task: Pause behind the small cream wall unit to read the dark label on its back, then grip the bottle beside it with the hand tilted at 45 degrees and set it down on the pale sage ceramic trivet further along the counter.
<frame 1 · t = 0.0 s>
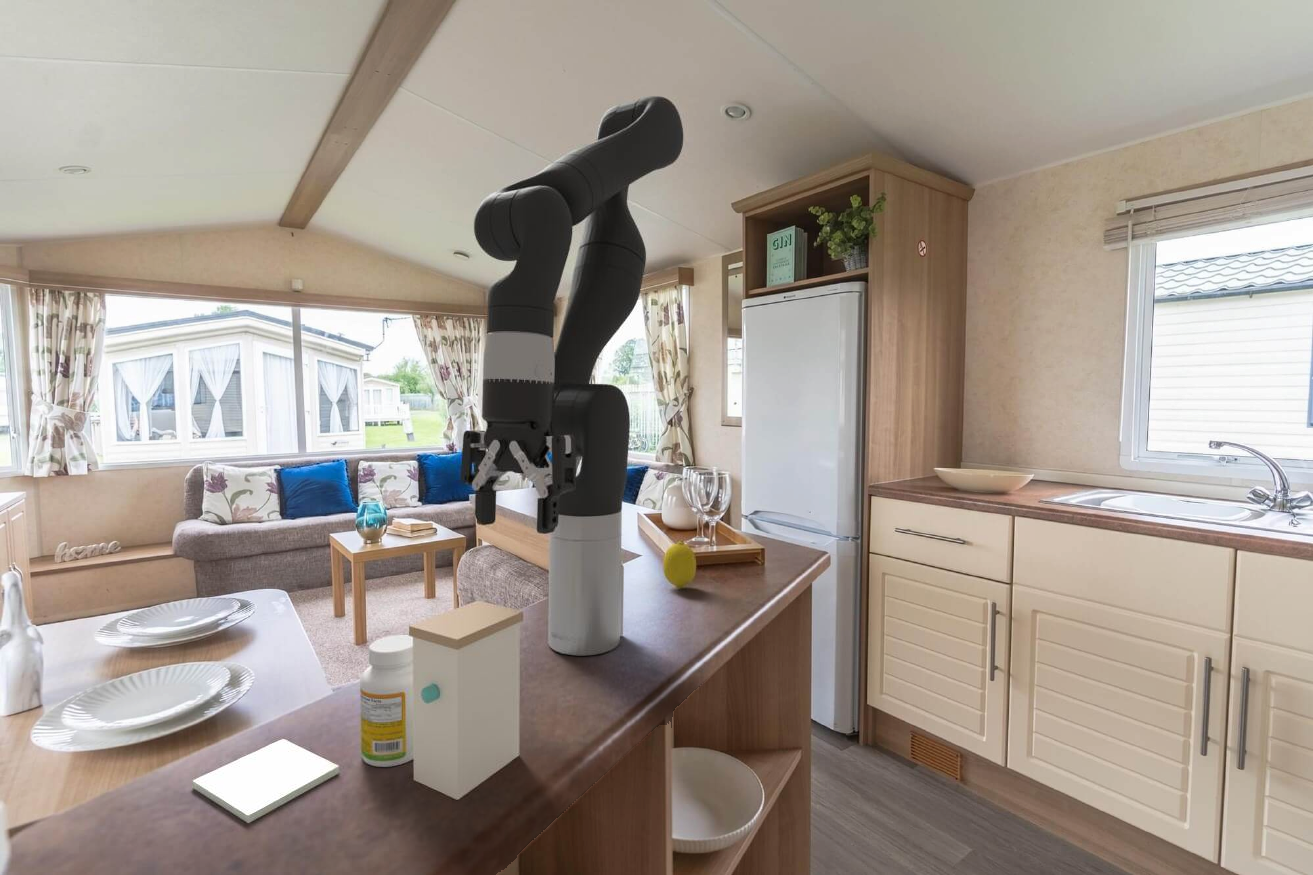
hand: (514, 528, 66), 17 cm above the counter, tool pointing down, fingers open, 8 cm apart
wall unit: (468, 767, 51), on the counter
trivet: (267, 780, 49), on the counter
lemon: (679, 589, 102), on the counter
supplement bottle: (394, 753, 54), on the counter
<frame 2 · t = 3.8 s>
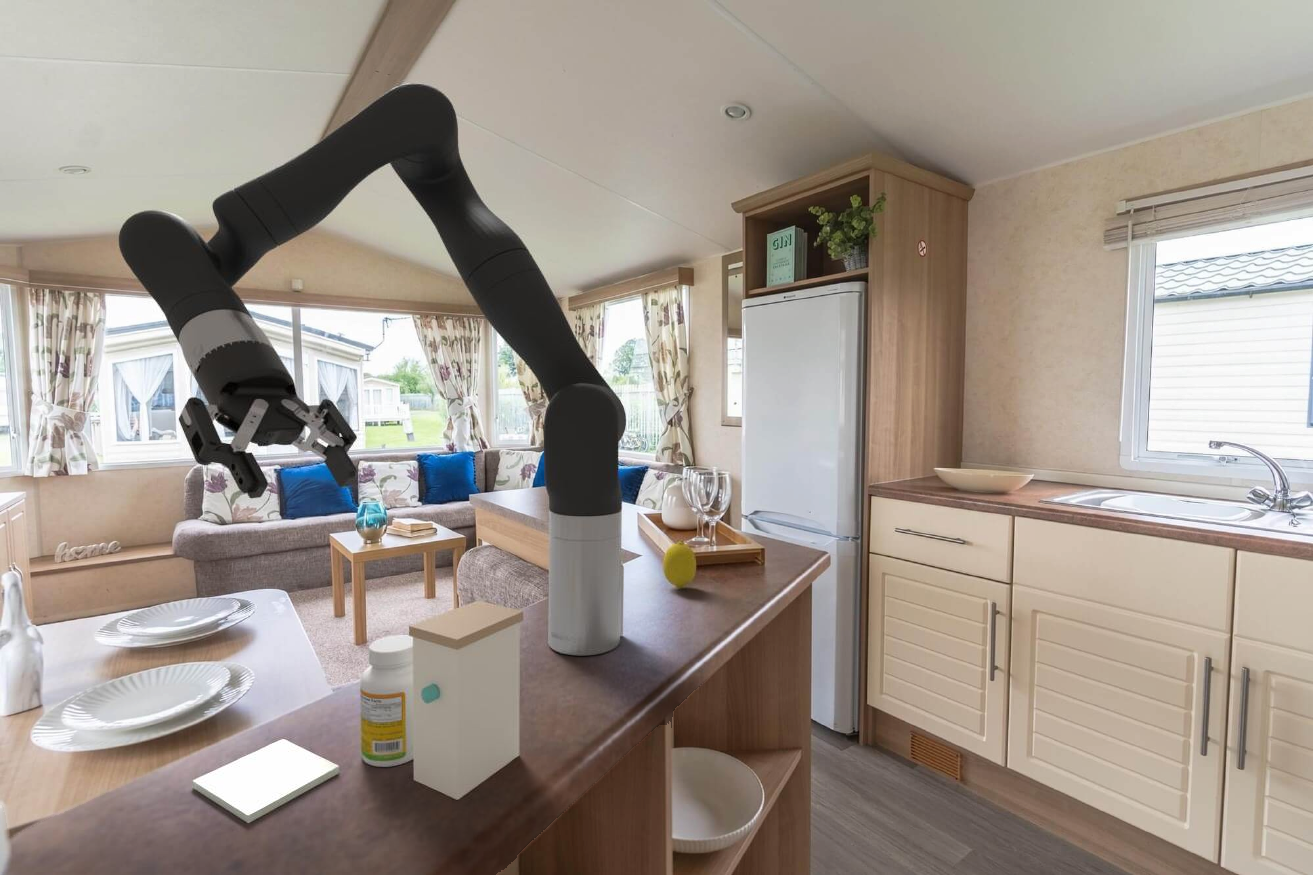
hand: (307, 486, 57), 23 cm above the counter, tool tilted 45°, fingers open, 8 cm apart
nothing on the counter moved.
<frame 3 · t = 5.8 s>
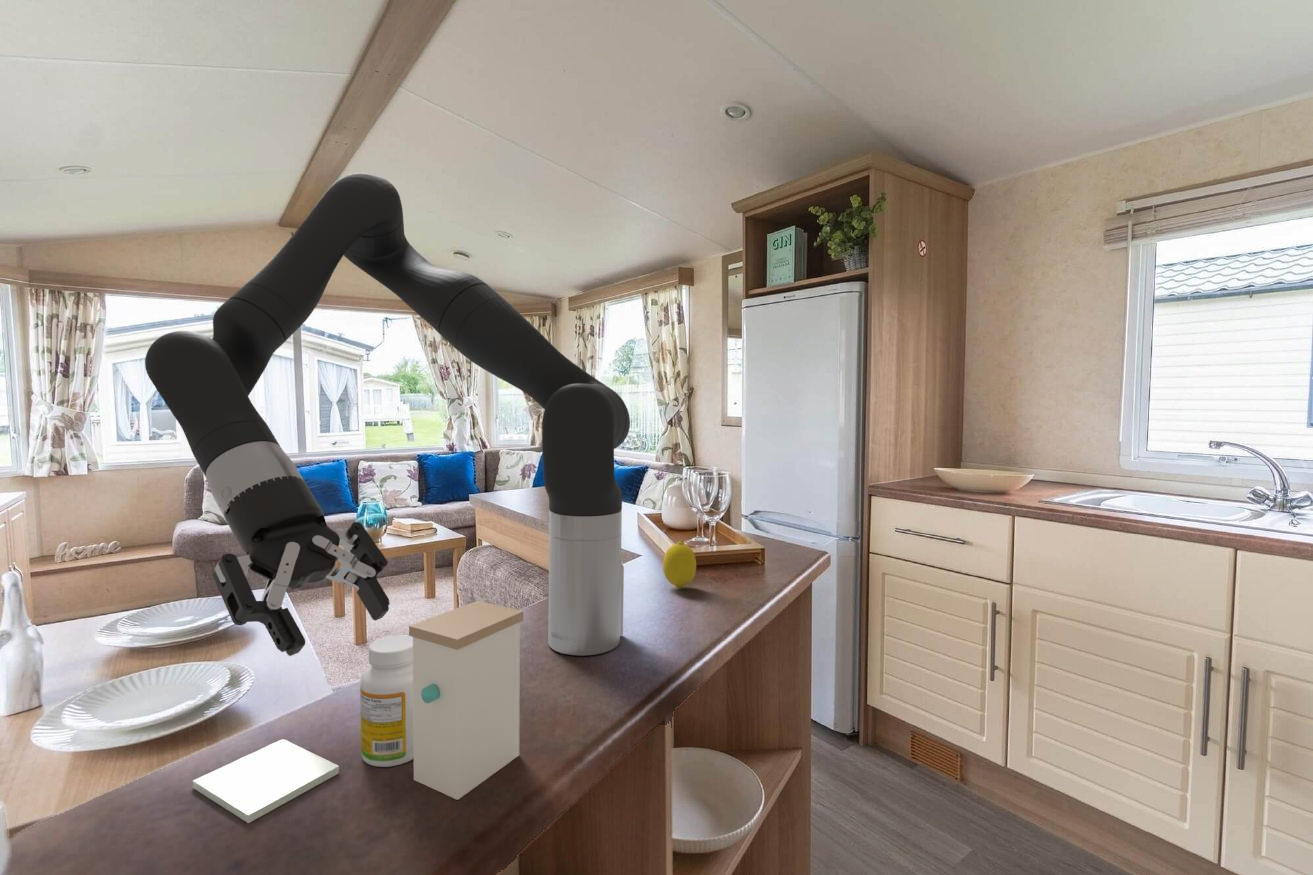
hand: (342, 631, 57), 9 cm above the counter, tool tilted 45°, fingers open, 8 cm apart
nothing on the counter moved.
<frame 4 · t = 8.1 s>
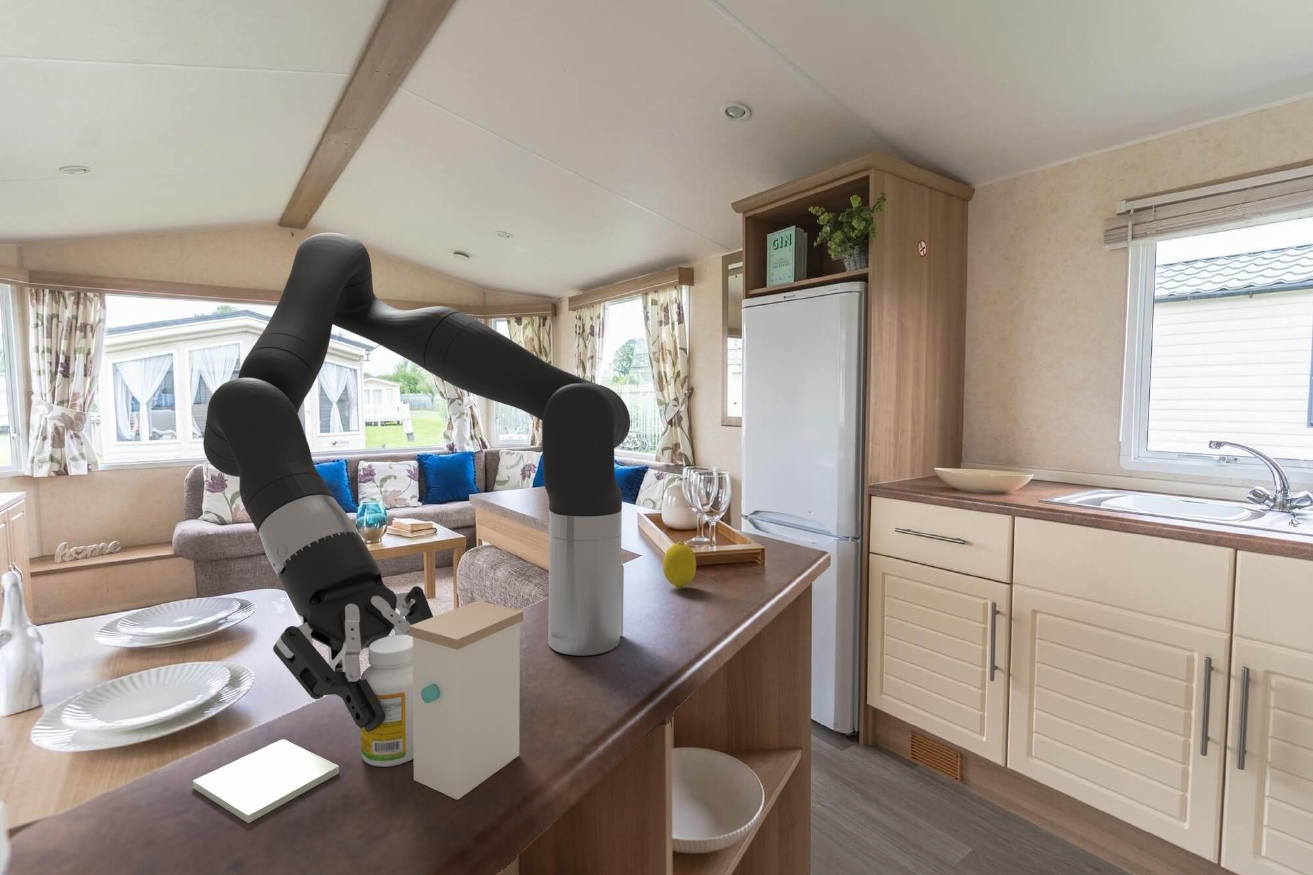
hand: (407, 708, 53), 4 cm above the counter, tool tilted 45°, fingers closed on supplement bottle, 5 cm apart
supplement bottle: (394, 752, 54), on the counter, touching gripper
everything else where it was.
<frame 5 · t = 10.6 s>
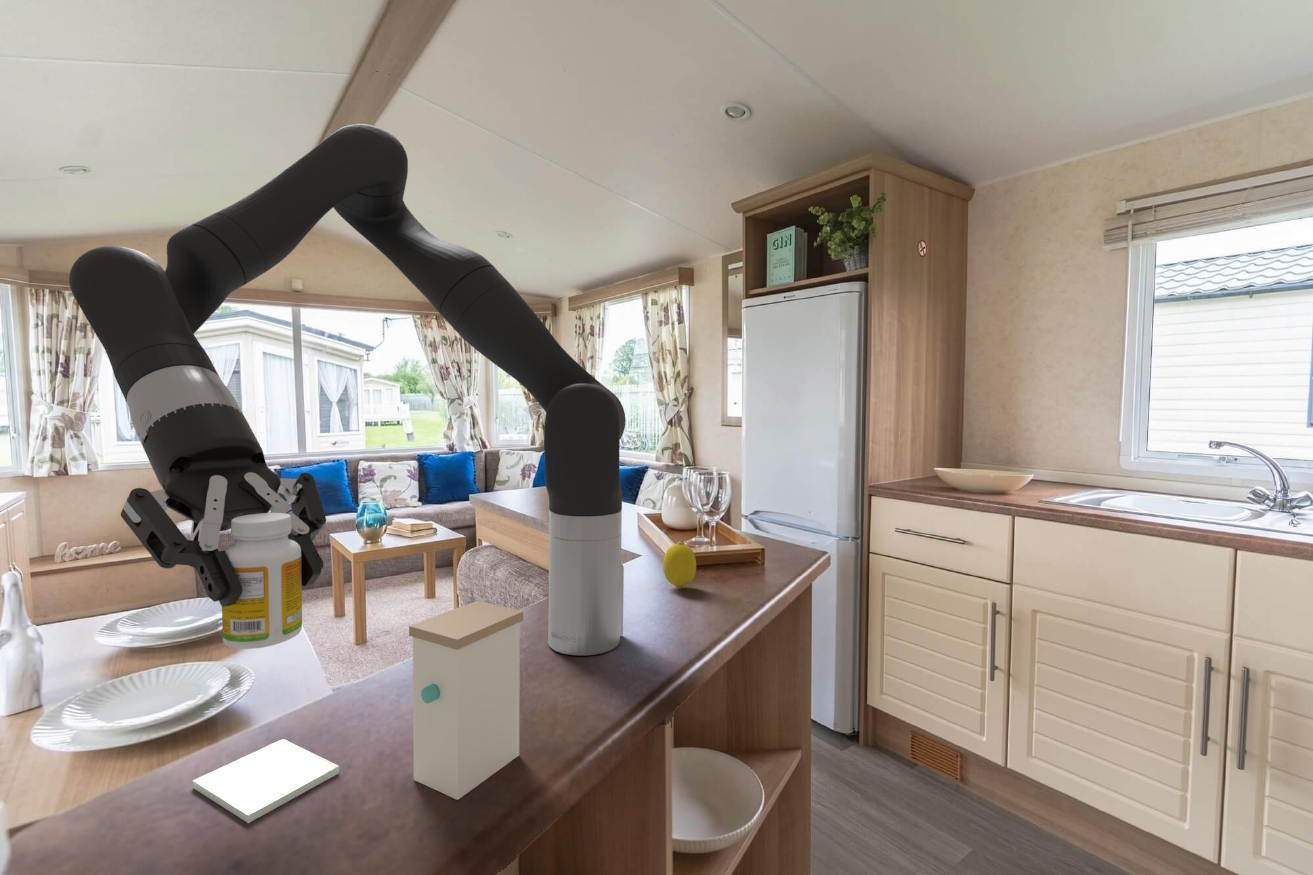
hand: (274, 588, 48), 16 cm above the counter, tool tilted 45°, fingers closed on supplement bottle, 5 cm apart
supplement bottle: (263, 639, 49), point 12 cm above the counter, touching gripper
everything else where it was.
when the fingers open (6 cm above the counter, at t = 12.9 s): supplement bottle drops 1 cm, resting on trivet.
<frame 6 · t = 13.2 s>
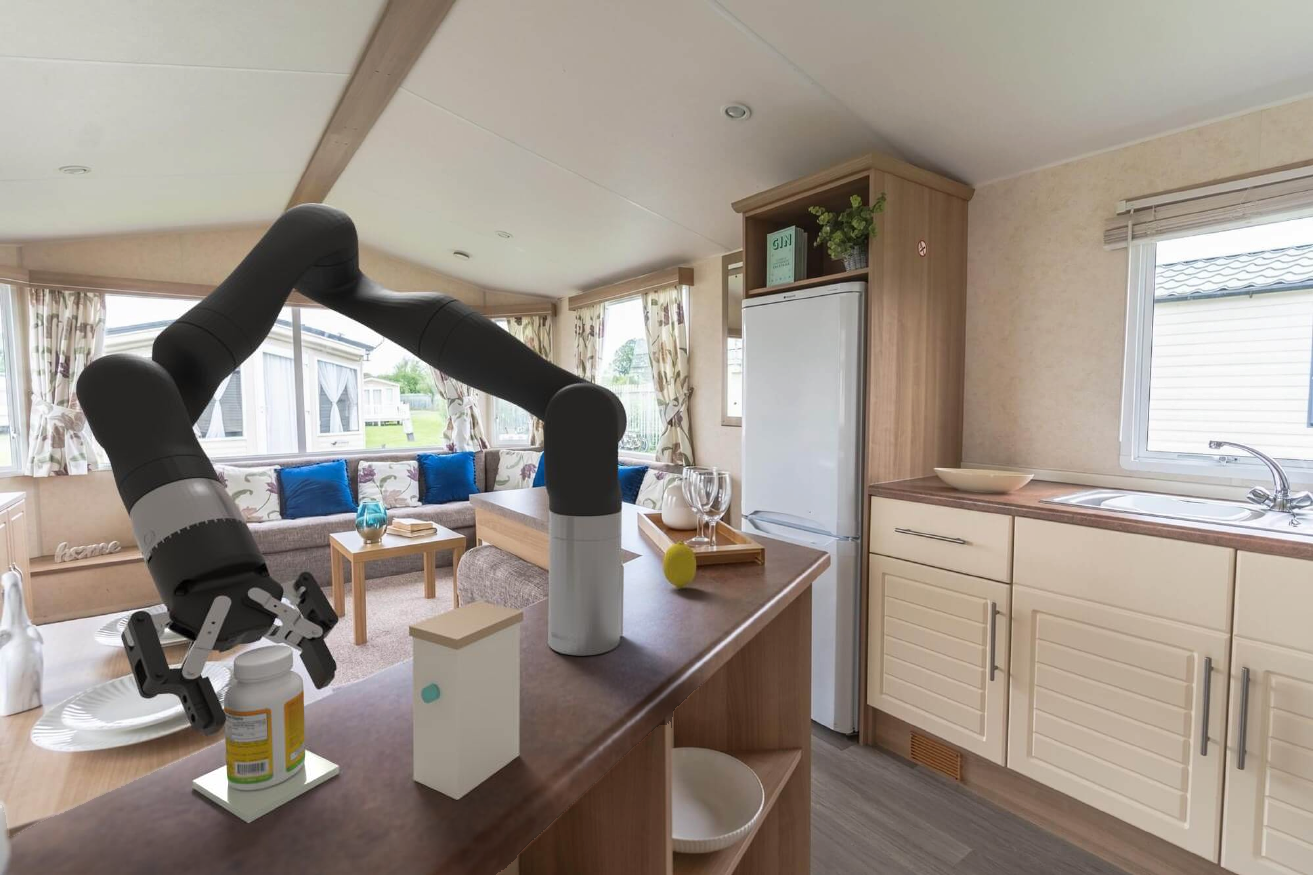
hand: (275, 704, 48), 7 cm above the counter, tool tilted 45°, fingers open, 8 cm apart
supplement bottle: (267, 774, 49), resting on trivet
everything else where it was.
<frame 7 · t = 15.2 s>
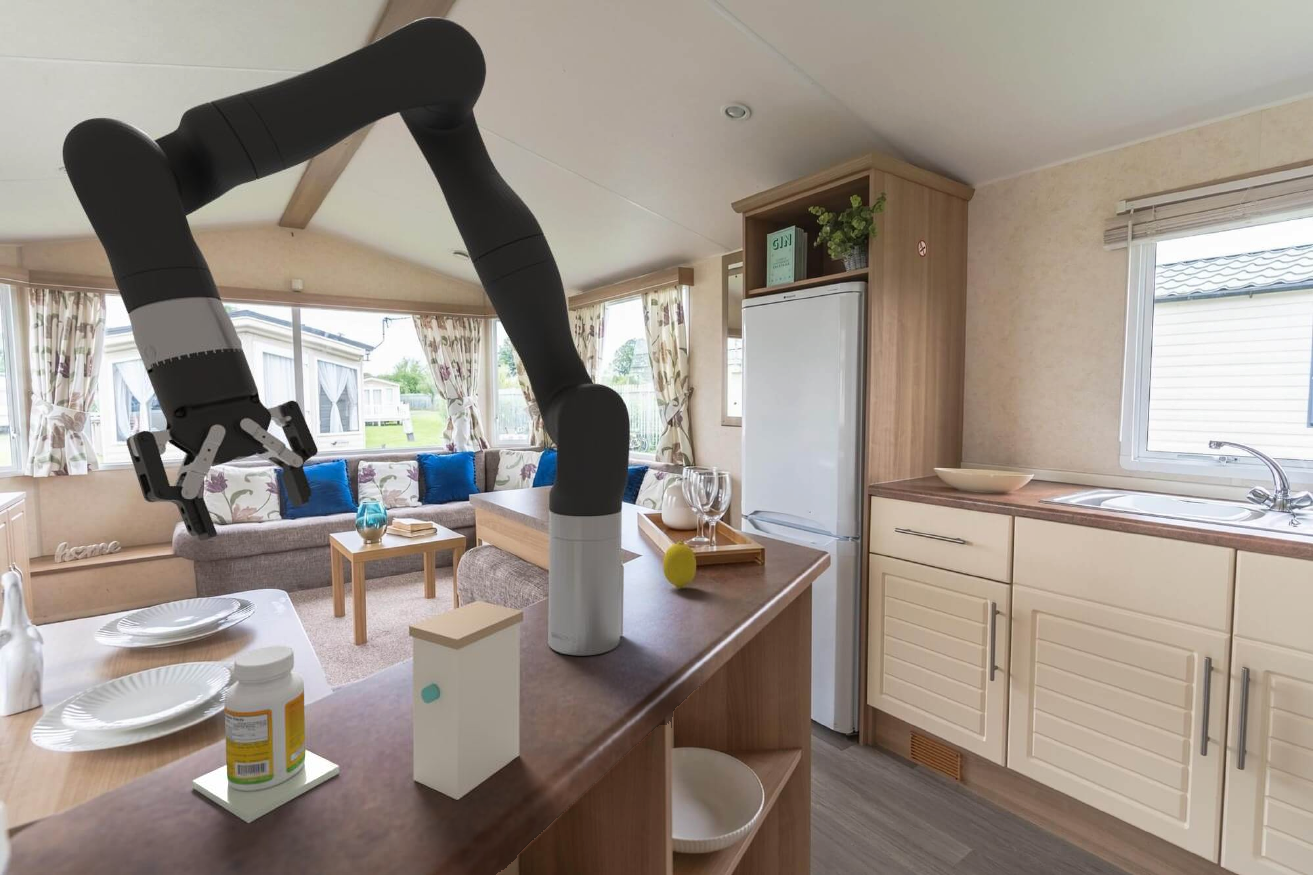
hand: (257, 521, 58), 19 cm above the counter, tool tilted 15°, fingers open, 8 cm apart
nothing on the counter moved.
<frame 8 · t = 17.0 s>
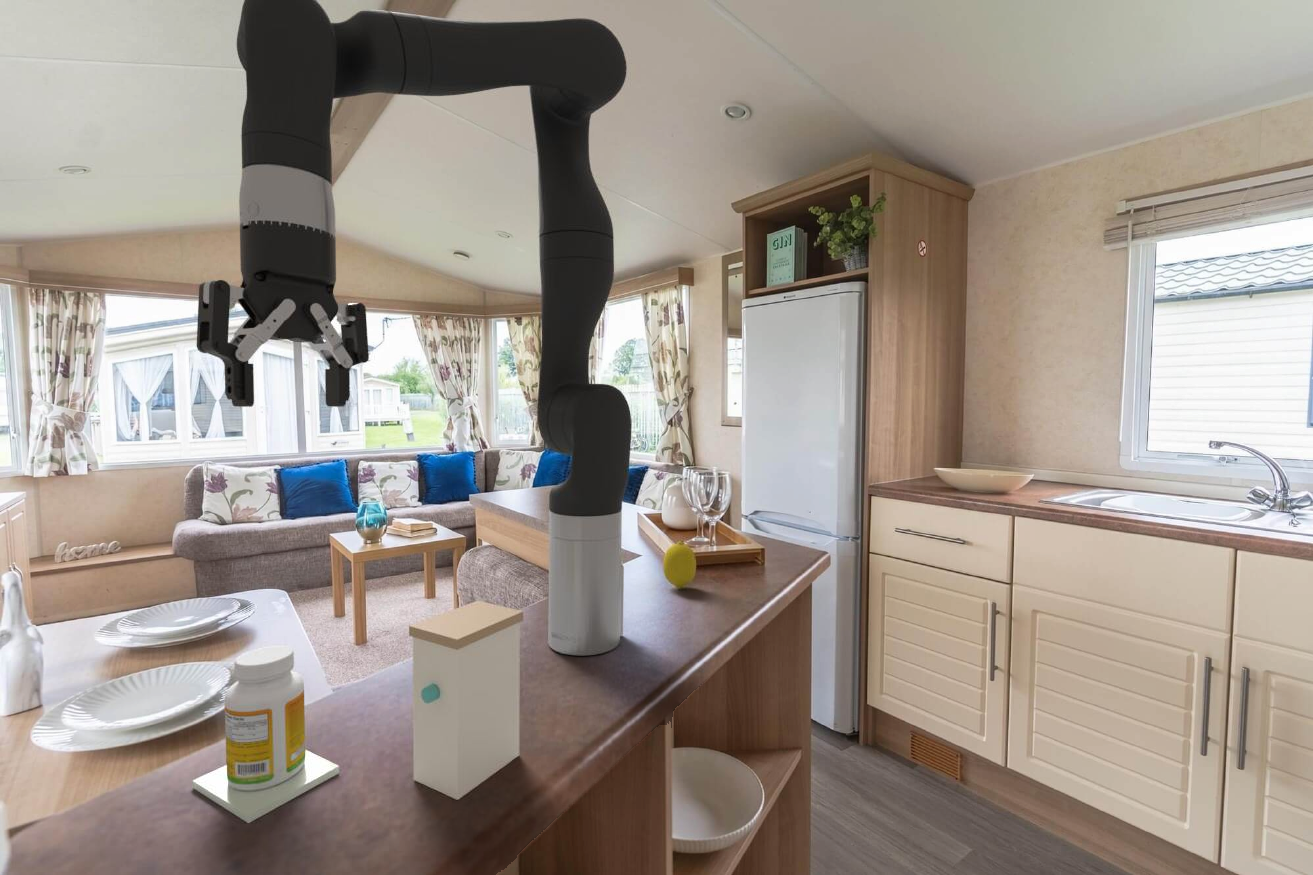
hand: (292, 406, 57), 30 cm above the counter, tool pointing down, fingers open, 8 cm apart
nothing on the counter moved.
at the end: supplement bottle inside the target area on the trivet (0.1 cm from its centre), point 0.4 cm above the trivet's base; supplement bottle tilted 0°; the gripper is holding nothing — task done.
